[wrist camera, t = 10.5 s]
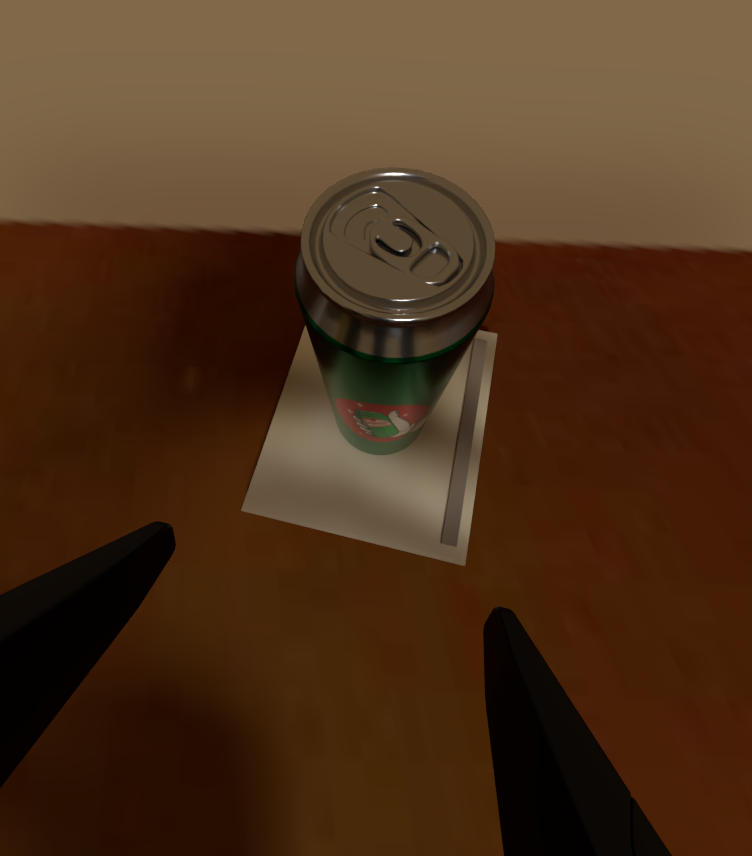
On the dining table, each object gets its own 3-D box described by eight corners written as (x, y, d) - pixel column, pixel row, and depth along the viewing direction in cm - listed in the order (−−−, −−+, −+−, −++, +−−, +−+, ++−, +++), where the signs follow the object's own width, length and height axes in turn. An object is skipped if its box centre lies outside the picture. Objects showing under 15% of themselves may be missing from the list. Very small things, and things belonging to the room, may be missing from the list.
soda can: (375, 359, 19) (384, 124, 8) (440, 410, 19) (556, 229, 7) (318, 418, 18) (232, 242, 7) (385, 476, 17) (417, 385, 6)
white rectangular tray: (459, 563, 17) (465, 566, 16) (248, 511, 18) (239, 510, 17) (491, 342, 21) (498, 332, 20) (317, 305, 22) (315, 293, 21)
